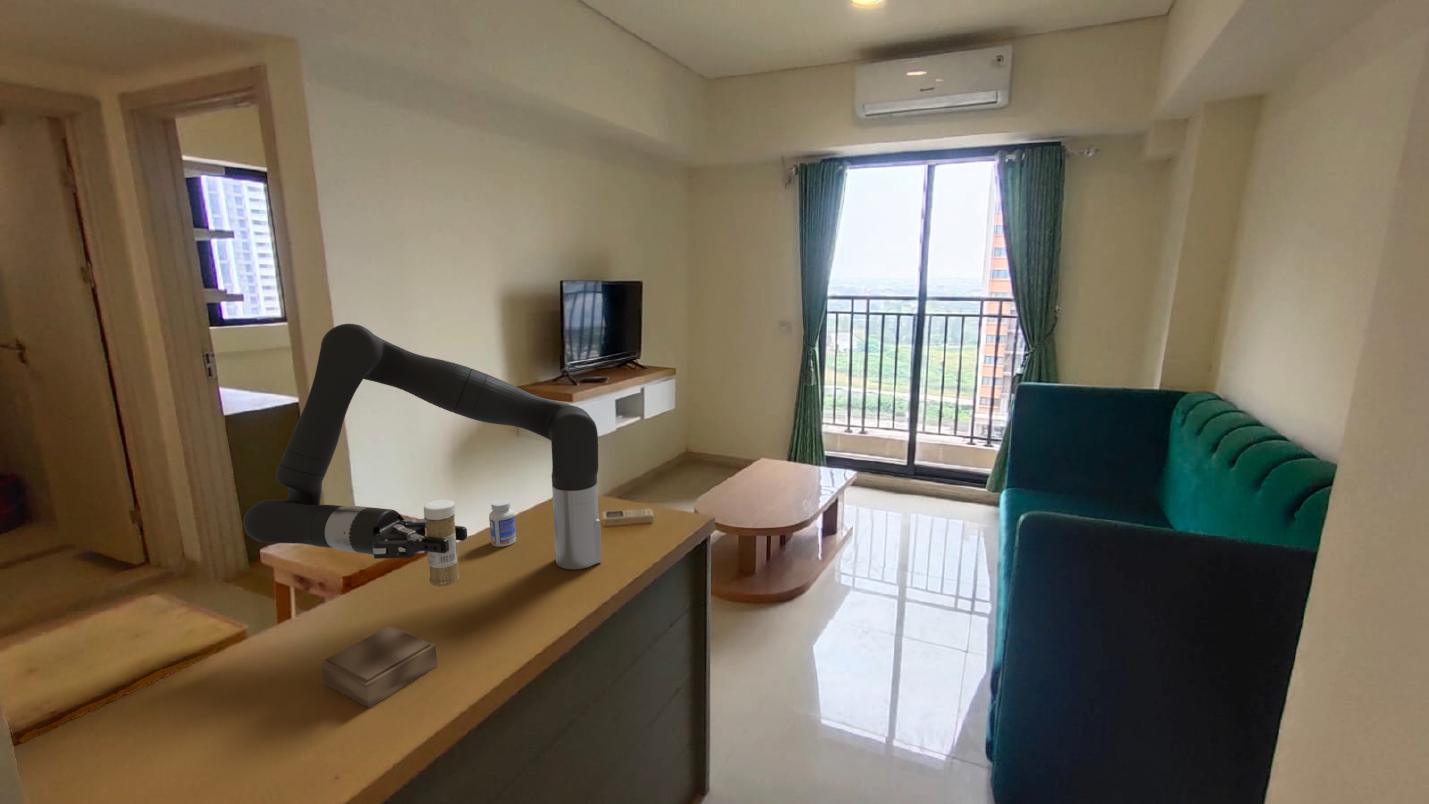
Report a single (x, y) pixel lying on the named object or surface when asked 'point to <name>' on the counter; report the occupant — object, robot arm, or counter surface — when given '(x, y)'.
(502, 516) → the pill bottle
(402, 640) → the walnut plinth
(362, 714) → the counter surface
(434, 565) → the sprinkles bottle
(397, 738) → the counter surface
